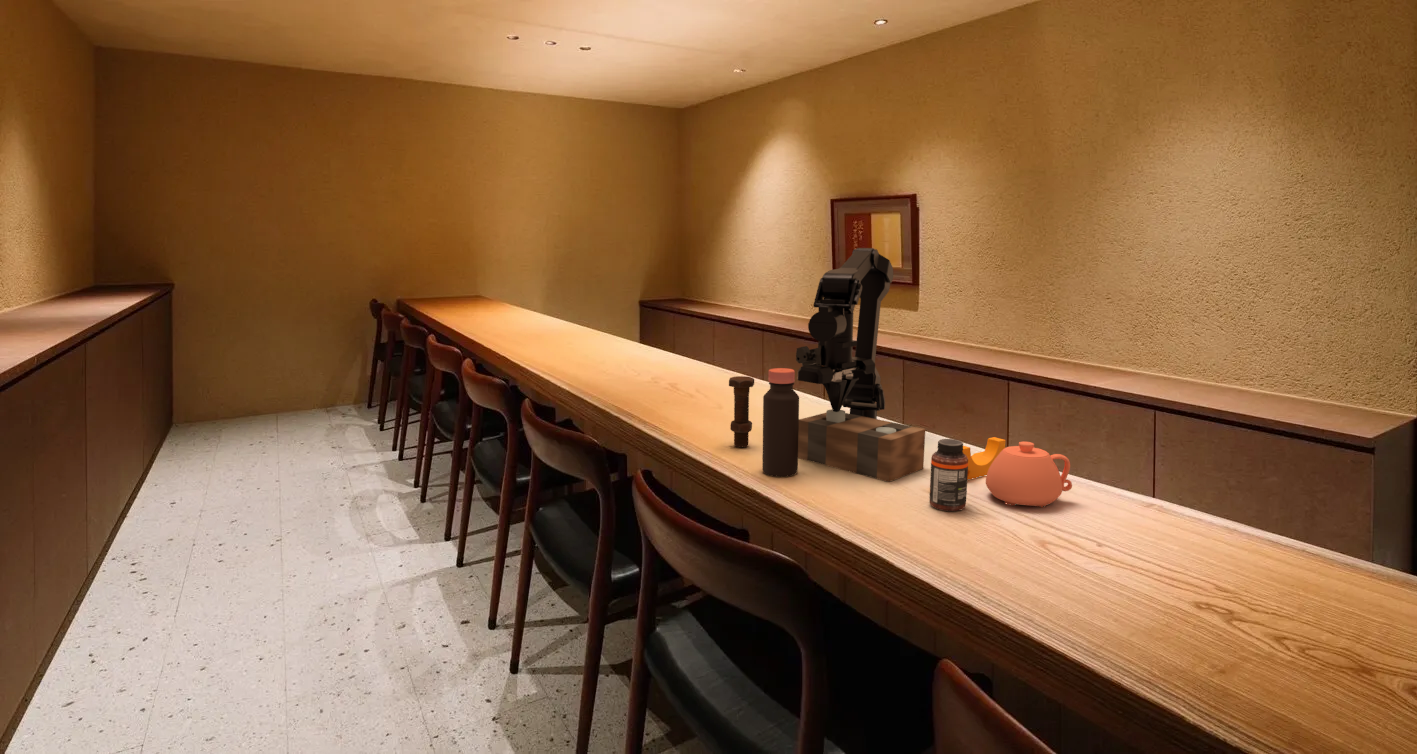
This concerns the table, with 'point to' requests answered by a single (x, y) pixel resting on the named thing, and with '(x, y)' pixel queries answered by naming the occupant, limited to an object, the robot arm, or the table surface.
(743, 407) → the bolt
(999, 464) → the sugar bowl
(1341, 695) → the table surface
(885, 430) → the peg
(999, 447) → the orange tape dispenser
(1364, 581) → the table surface
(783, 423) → the dark brown bottle
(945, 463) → the supplement bottle
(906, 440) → the socket block
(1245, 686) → the table surface
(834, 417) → the peg
